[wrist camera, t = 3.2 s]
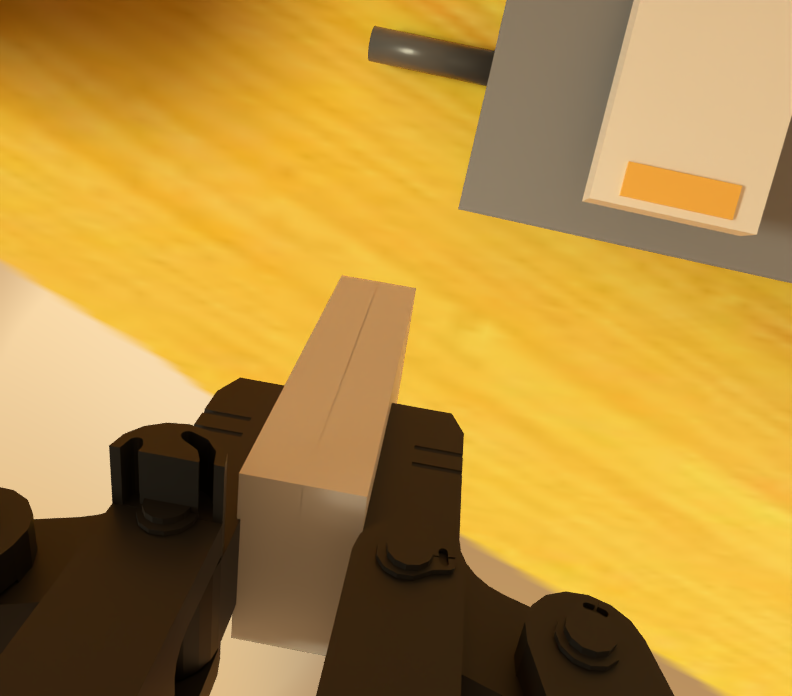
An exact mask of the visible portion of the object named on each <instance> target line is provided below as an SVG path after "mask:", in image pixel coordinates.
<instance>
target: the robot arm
mask: <svg viewBox="0 0 792 696" xmlns="http://www.w3.org/2000/svg"><path fill="white" fill-rule="evenodd" d="M415 291H416V288H411V287H406V286H400V285H394V284H388V283H383V282H377V281H371V280H366V279H360V278H354V277H348V276H343V275H342V276H341V278H340V280H339V282H338V284H337V286H336V288H335V290H334V292H333V294H332V296H331V298H330V299H329V301H328V303H327V305H326V307H325V309H324V311H323V313H322V315H321V317H320V319H319V321H318V323H317V324H316V326H315V328H314V330H313V332H312V334H311V336H310V338H309V340H308V342H307V344H306V346H305V347H304V349H303V351H302V353H301V355H300V357H299V359H298V361H297V363H296V365H295V367H294V369H293V371H292V372H291V374H290V376H289V378H288V380H287V382H286V384H285V386H284V385H278V384H273V383H267V382H261V381H256V380H250V379H245V378H239V379H237V380H235V381H234V382H232V383H230V384H228V385H227V386H225V387H223V388H222V389H220V390H218V391H217V392H216V394H215V395H214V396H213V398H212V399H211V401H210V402H209V404H208V405H207V407H206V408H205V411H204V413H202V414H201V415H200V417H199V418H198V420H197V421H196V423H195V424H194V426H193V425H190V424H177V423H162V424H155V425H148V426H143V427H141V428H138V429H135V430H133V431H130V432H128V433H125V434H123V435H122V436H121V437H120V438H118V439H117V440H116V441H115V442H114V443H112V444H111V445H110V446H109V449H110V467H111V485H112V502H113V503H112V505H111V506H110V507H109V509H108V510H107V511H106V513H103V514H99V515H94V516H86V517H73V518H53V519H33V513H32V510H31V507H30V505H29V502H28V500H27V499H26V498H24V497H23V496H21V495H20V494H18V493H17V492H16V491H14V490H10V489H6V488H1V487H0V696H209V695H210V692H211V690H212V687H213V684H214V682H215V680H216V677H217V673H218V667H219V661H220V642H221V640H222V637H223V635H224V632H225V630H226V627H227V625H228V623H229V620H230V618H231V615H232V633H231V638H236V639H241V640H246V641H252V642H256V643H261V644H267V645H272V646H277V647H282V648H287V649H292V650H297V651H302V652H307V653H313V654H318V655H323V656H326V658H325V662H324V666H323V670H322V674H321V678H320V682H319V687H318V691H317V695H316V696H674V694H673V692H672V690H671V689H670V687H669V685H668V683H667V681H666V679H665V677H664V676H663V673H662V672H661V670H660V668H659V666H658V664H657V662H656V660H655V658H654V656H653V654H652V652H651V650H650V649H649V647H648V645H647V643H646V641H645V639H644V638H643V637H642V635H641V634H640V633H639V631H638V630H637V629H636V627H635V626H634V625H633V623H632V622H631V621H630V620H629V619H628V618H626V617H625V616H624V615H623V614H621V613H620V612H619V611H618V610H616V609H615V608H614V607H612V606H611V605H609V604H607V603H605V602H602V601H600V600H598V599H596V598H593V597H591V596H589V595H584V594H578V593H571V592H561V593H555V594H549V595H546V596H544V597H543V598H541V599H540V600H538V601H537V602H536V603H534V604H533V605H532V606H531V607H529V606H527V605H525V604H522V603H520V602H518V601H516V600H514V599H511V598H509V597H507V596H505V595H503V594H501V593H500V592H498V591H496V590H494V589H493V588H491V587H489V586H488V585H487V584H485V583H484V582H483V581H482V580H481V579H479V578H478V577H477V576H476V575H475V574H474V573H473V571H472V570H471V569H470V567H469V566H468V565H467V564H466V562H465V559H464V557H463V555H462V553H461V551H460V550H461V549H460V542H459V533H460V509H461V485H462V475H461V474H462V461H463V458H462V455H463V437H464V433H463V432H462V430H461V428H460V427H459V425H458V423H457V422H456V420H455V418H454V417H453V415H452V414H451V413H445V412H440V411H434V410H429V409H423V408H417V407H412V406H406V405H401V404H397V399H398V393H399V387H400V381H401V375H402V369H403V363H404V357H405V351H406V345H407V339H408V333H409V327H410V321H411V315H412V309H413V303H414V297H415Z"/></svg>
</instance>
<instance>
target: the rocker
mask: <svg viewBox="0 0 792 696" xmlns="http://www.w3.org/2000/svg"><path fill="white" fill-rule="evenodd" d="M791 116H792V0H634V1H633V5H632V9H631V13H630V17H629V20H628V24H627V28H626V32H625V36H624V40H623V44H622V48H621V52H620V56H619V59H618V63H617V67H616V71H615V75H614V79H613V83H612V87H611V91H610V94H609V98H608V102H607V106H606V110H605V114H604V118H603V122H602V126H601V129H600V133H599V137H598V141H597V145H596V149H595V153H594V157H593V161H592V164H591V168H590V172H589V176H588V180H587V184H586V188H585V192H584V196H583V199H582V201H583V202H587V203H592V204H596V205H601V206H606V207H610V208H615V209H619V210H624V211H628V212H633V213H637V214H642V215H646V216H651V217H656V218H660V219H665V220H669V221H674V222H678V223H683V224H687V225H692V226H697V227H701V228H706V229H710V230H715V231H719V232H724V233H728V234H733V235H737V236H747V235H757V232H758V228H759V225H760V222H761V218H762V215H763V211H764V208H765V205H766V201H767V198H768V194H769V191H770V188H771V184H772V181H773V177H774V174H775V171H776V167H777V164H778V160H779V157H780V154H781V150H782V147H783V143H784V140H785V137H786V133H787V130H788V126H789V123H790V120H791Z"/></svg>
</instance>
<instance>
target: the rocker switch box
mask: <svg viewBox="0 0 792 696" xmlns="http://www.w3.org/2000/svg"><path fill="white" fill-rule="evenodd" d="M633 1H634V0H507V1H506V5H505V10H504V14H503V18H502V23H501V27H500V31H499V36H498V40H497V44H496V49H495V51H491V50H486V49H482V48H477V47H472V46H467V45H463V44H458V43H453V42H448V41H444V40H439V39H434V38H429V37H425V36H420V35H415V34H410V33H406V32H401V31H396V30H391V29H387V28H382V27H377V26H374V28H373V30H372V33H371V37H370V43H369V50H368V60H369V61H372V62H377V63H381V64H386V65H391V66H396V67H400V68H405V69H410V70H414V71H419V72H424V73H428V74H433V75H438V76H442V77H447V78H452V79H457V80H461V81H466V82H471V83H475V84H480V85H485V86H487V87H486V92H485V96H484V100H483V105H482V109H481V113H480V118H479V122H478V126H477V131H476V135H475V139H474V144H473V148H472V152H471V157H470V161H469V165H468V170H467V174H466V178H465V183H464V187H463V191H462V196H461V200H460V204H459V209H460V210H465V211H469V212H474V213H478V214H483V215H487V216H492V217H496V218H501V219H505V220H510V221H514V222H519V223H523V224H528V225H532V226H537V227H541V228H546V229H550V230H555V231H559V232H564V233H568V234H573V235H577V236H582V237H586V238H591V239H595V240H600V241H604V242H609V243H613V244H618V245H622V246H627V247H631V248H636V249H640V250H645V251H649V252H654V253H658V254H663V255H667V256H672V257H676V258H681V259H685V260H690V261H694V262H699V263H703V264H708V265H712V266H717V267H721V268H726V269H730V270H735V271H739V272H744V273H748V274H753V275H757V276H762V277H766V278H771V279H775V280H780V281H784V282H789V283H792V116H791V120H790V123H789V126H788V130H787V133H786V137H785V140H784V143H783V147H782V150H781V154H780V157H779V160H778V164H777V167H776V171H775V174H774V177H773V181H772V184H771V188H770V191H769V194H768V198H767V201H766V205H765V208H764V211H763V215H762V218H761V222H760V225H759V228H758V232H757V235H747V236H737V235H733V234H728V233H724V232H719V231H715V230H710V229H706V228H701V227H697V226H692V225H687V224H683V223H678V222H674V221H669V220H665V219H660V218H656V217H651V216H646V215H642V214H637V213H633V212H628V211H624V210H619V209H615V208H610V207H606V206H601V205H596V204H592V203H587V202H583V201H582V199H583V196H584V192H585V188H586V184H587V180H588V176H589V172H590V168H591V164H592V161H593V157H594V153H595V149H596V145H597V141H598V137H599V133H600V129H601V126H602V122H603V118H604V114H605V110H606V106H607V102H608V98H609V94H610V91H611V87H612V83H613V79H614V75H615V71H616V67H617V63H618V59H619V56H620V52H621V48H622V44H623V40H624V36H625V32H626V28H627V24H628V20H629V17H630V13H631V9H632V5H633Z"/></svg>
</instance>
